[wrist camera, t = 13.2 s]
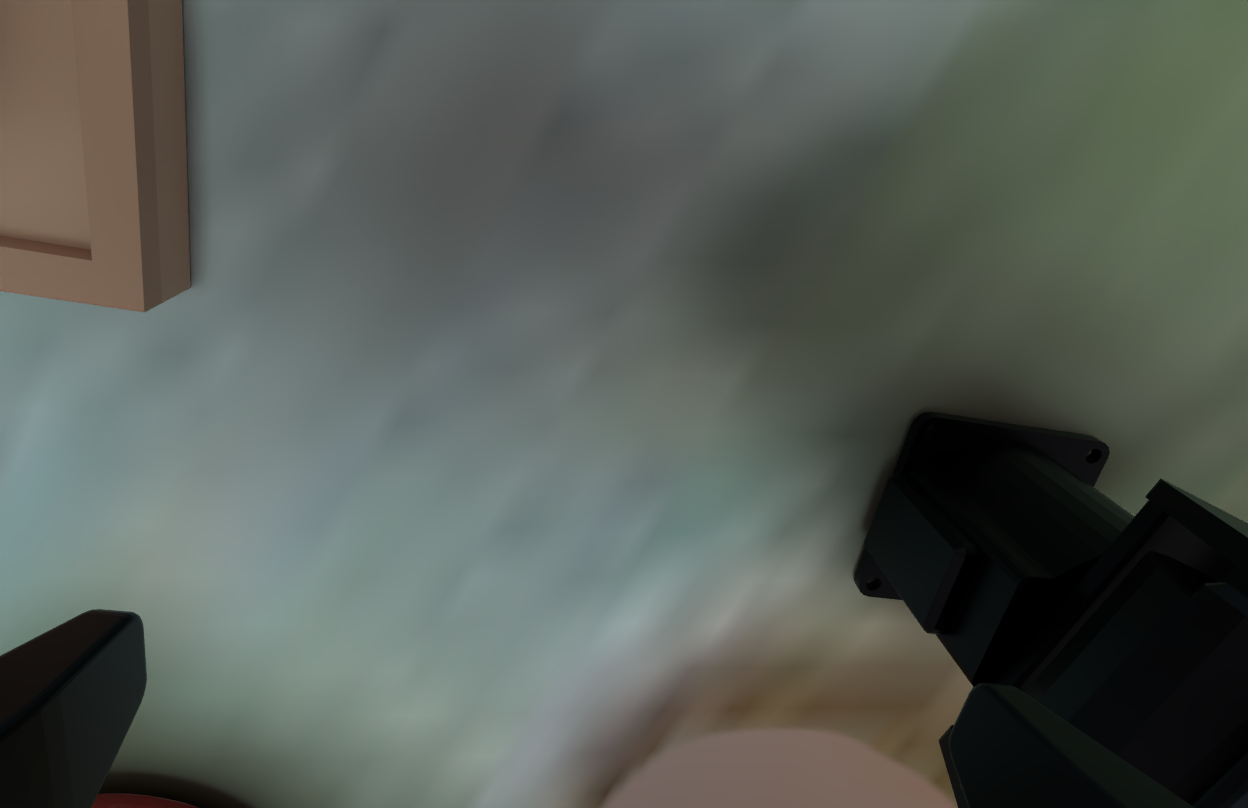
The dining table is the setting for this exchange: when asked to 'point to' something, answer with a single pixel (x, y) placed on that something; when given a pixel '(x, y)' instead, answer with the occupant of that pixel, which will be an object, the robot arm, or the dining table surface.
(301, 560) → the dining table surface
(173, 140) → the stand
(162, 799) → the plant pot
